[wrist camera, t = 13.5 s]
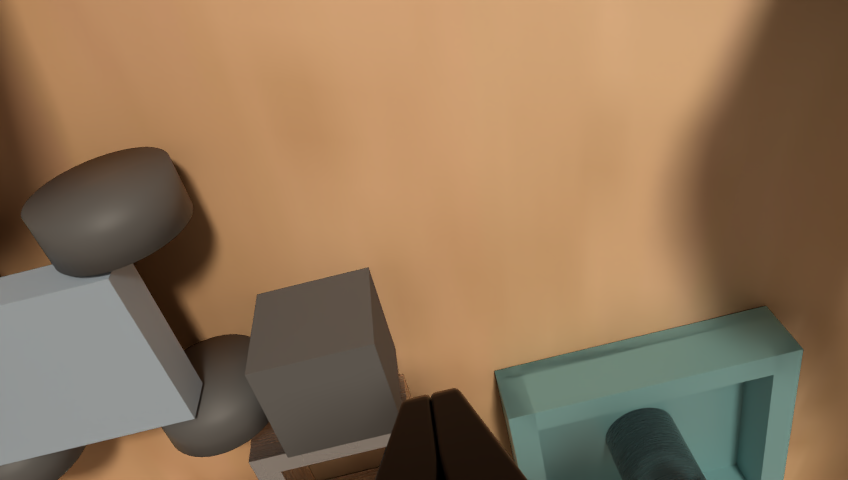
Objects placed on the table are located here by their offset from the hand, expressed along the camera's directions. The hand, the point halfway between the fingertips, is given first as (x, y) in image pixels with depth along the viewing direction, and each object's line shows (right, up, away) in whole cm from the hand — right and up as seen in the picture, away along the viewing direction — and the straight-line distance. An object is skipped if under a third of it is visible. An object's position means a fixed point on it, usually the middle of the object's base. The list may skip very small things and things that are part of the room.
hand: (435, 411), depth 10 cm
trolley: (-11, +1, +12) cm, 17 cm away
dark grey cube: (-4, 0, +14) cm, 15 cm away
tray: (+9, -5, +19) cm, 22 cm away
